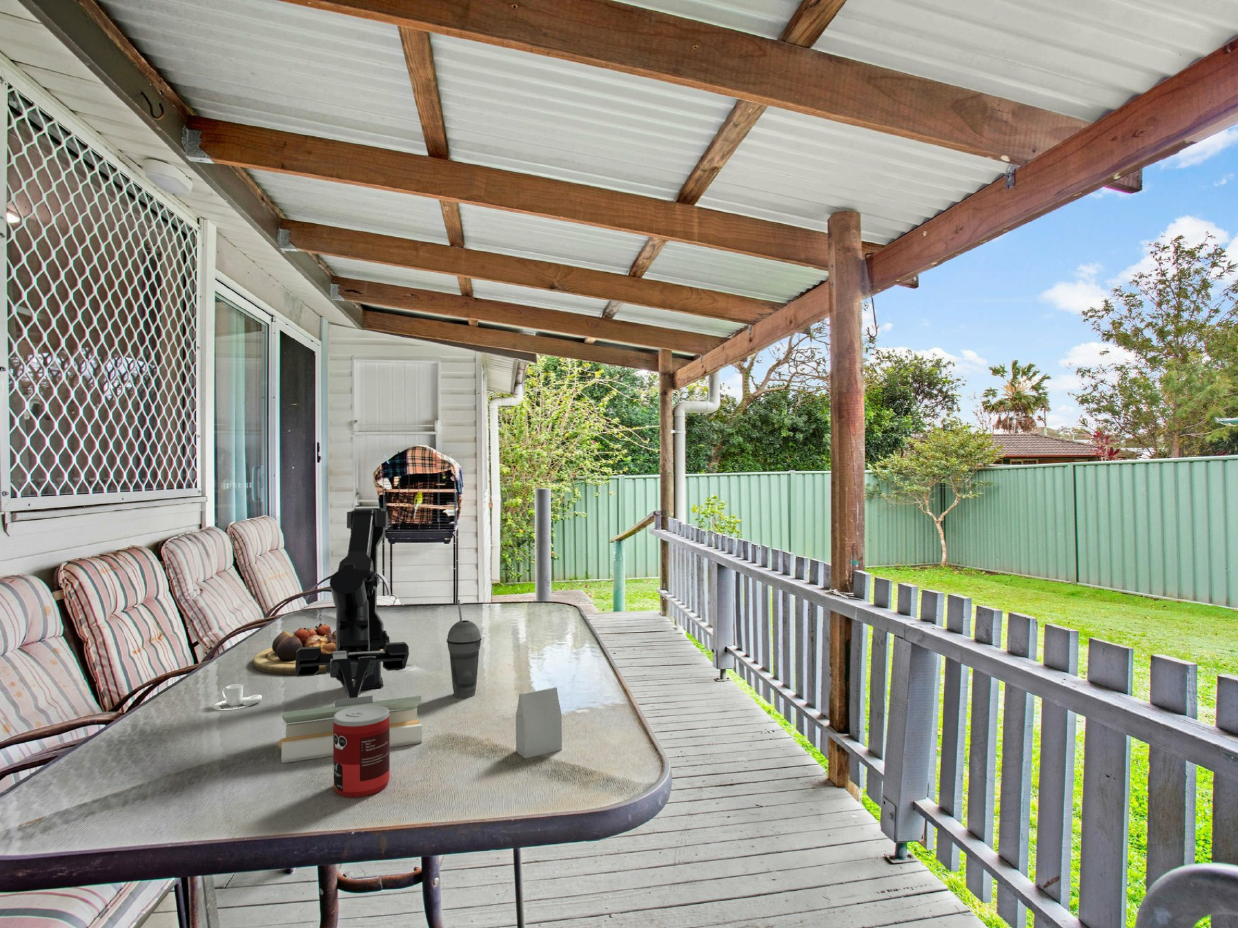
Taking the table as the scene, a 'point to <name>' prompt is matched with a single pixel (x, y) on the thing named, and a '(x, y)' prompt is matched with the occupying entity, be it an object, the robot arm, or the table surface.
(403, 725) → the orange rounded bar
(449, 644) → the beverage cup
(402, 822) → the table surface
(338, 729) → the canned food
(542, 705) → the grey gable bag
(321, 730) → the cable duct
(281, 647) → the wooden plate with food
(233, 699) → the teacup and saucer
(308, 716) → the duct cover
